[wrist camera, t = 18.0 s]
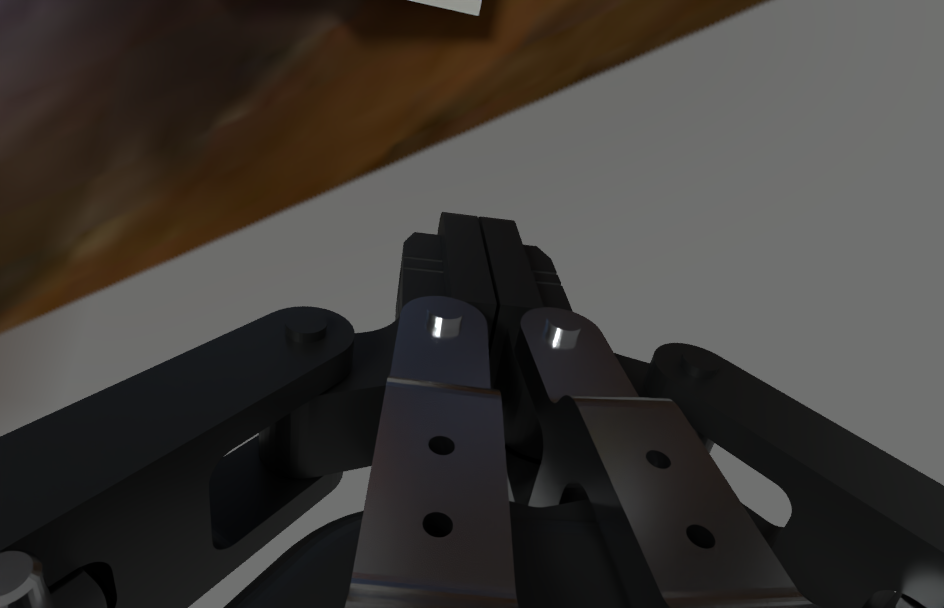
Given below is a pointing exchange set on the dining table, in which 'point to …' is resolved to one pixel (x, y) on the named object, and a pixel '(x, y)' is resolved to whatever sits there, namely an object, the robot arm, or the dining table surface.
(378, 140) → the dining table surface
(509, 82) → the dining table surface
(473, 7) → the domino
